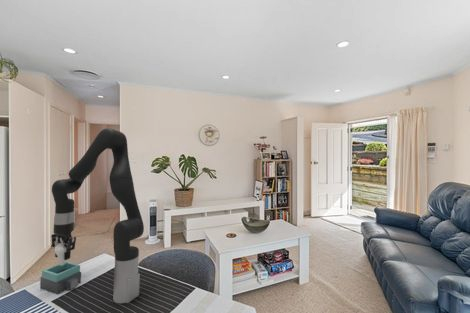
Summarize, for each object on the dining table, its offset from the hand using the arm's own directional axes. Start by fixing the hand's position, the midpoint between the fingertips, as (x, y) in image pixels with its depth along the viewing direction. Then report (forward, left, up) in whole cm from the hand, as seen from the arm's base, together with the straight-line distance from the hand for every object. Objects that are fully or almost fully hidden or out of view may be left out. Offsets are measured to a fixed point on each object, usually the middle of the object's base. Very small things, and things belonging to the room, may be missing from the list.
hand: (62, 257), depth 100 cm
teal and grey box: (-2, 0, -13) cm, 13 cm away
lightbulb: (0, 0, -4) cm, 4 cm away
